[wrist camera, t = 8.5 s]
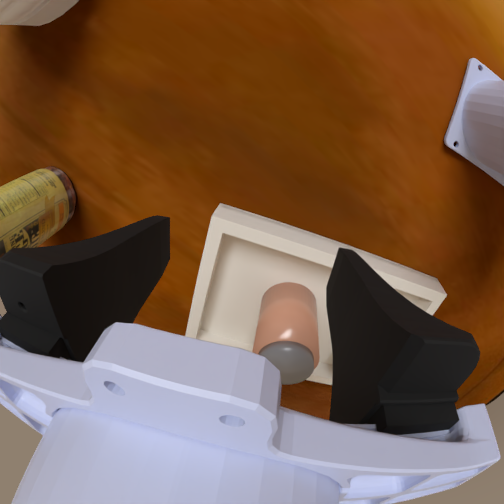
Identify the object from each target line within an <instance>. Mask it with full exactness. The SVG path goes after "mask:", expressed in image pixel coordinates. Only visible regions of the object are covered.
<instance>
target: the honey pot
mask: <svg viewBox="0 0 504 504" xmlns="http://www.w3.org/2000/svg"><path fill="white" fill-rule="evenodd" d="M78 1H79V0H0V25H30V26H40V25H43V24H47V23H50V22H51V21H53V20H55V19H56V18H58V17H60V16H62V15H63V14H64V13H65V12H66V11H68V10H69V9H70V8H71V7H73V6H74V5H75V4H76V3H77V2H78Z"/></svg>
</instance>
